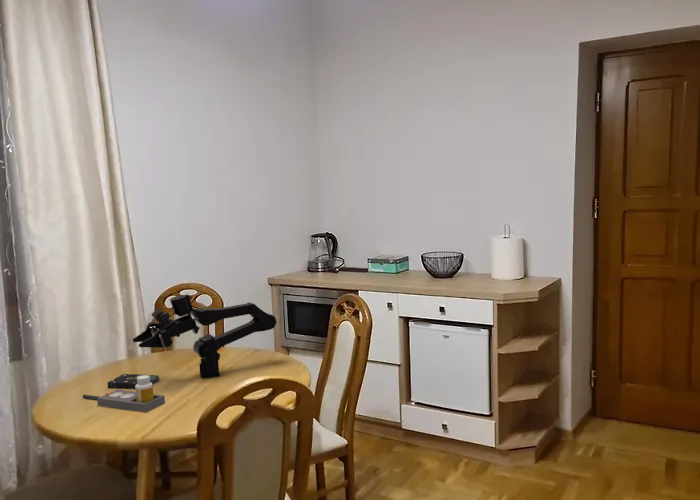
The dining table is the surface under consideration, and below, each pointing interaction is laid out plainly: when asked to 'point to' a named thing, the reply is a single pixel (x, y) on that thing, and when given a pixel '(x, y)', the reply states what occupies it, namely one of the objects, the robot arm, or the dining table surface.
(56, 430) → the dining table surface
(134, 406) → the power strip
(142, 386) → the supplement bottle
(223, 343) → the robot arm
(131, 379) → the disk drive
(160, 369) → the dining table surface
